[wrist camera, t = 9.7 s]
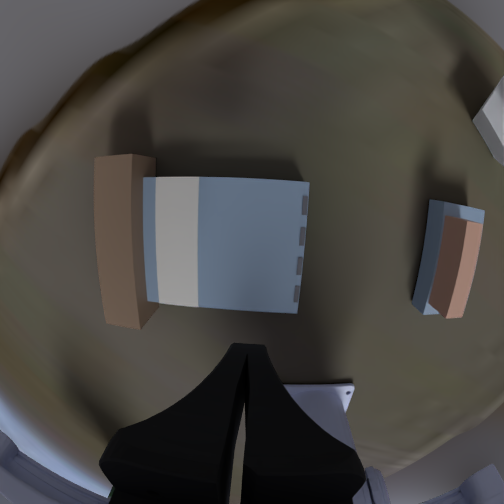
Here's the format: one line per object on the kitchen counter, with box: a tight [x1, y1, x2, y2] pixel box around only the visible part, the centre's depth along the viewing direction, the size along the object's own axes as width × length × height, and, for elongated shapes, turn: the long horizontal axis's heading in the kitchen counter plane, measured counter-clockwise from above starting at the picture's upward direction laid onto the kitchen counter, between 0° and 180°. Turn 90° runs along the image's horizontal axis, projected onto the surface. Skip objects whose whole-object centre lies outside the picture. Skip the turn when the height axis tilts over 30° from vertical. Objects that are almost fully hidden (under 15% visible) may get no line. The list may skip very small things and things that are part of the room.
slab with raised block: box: [412, 199, 485, 318], centre depth 17 cm, size 9×5×5 cm, turn 177°
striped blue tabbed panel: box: [94, 154, 310, 330], centre depth 18 cm, size 12×14×4 cm
